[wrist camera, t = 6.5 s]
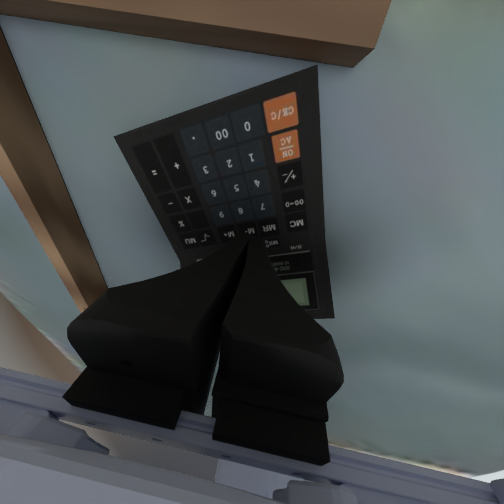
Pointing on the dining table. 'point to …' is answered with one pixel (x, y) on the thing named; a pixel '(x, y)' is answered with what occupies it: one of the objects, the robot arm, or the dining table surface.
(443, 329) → the dining table surface
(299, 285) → the calculator
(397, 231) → the dining table surface
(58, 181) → the brown angled flat piece
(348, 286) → the dining table surface
